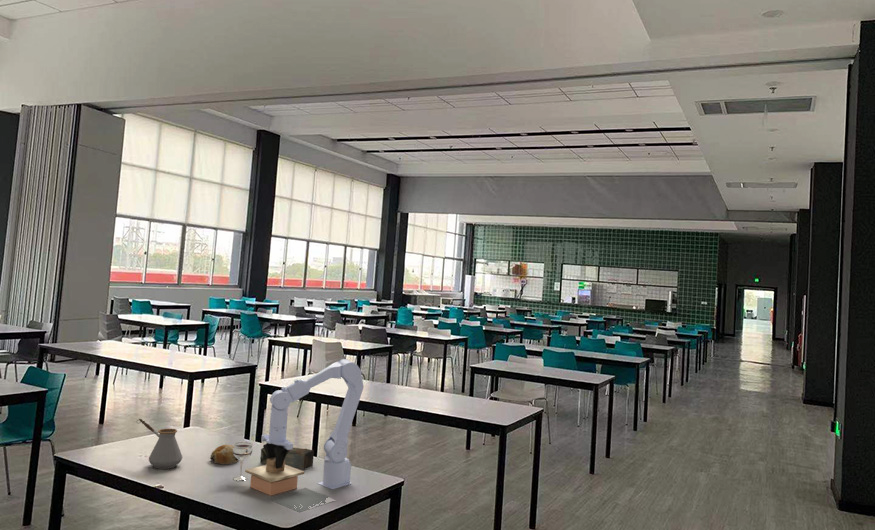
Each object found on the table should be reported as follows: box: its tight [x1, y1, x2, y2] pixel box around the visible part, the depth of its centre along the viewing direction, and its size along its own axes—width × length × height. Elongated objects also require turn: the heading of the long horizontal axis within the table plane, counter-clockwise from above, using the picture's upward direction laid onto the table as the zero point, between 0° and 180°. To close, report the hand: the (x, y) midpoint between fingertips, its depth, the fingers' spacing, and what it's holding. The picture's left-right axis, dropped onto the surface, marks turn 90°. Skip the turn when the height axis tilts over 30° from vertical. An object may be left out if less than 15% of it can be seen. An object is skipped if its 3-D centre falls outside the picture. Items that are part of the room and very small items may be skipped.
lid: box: [244, 457, 305, 482], centre depth 217 cm, size 14×14×5 cm
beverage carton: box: [259, 447, 315, 471], centre depth 245 cm, size 8×19×7 cm, turn 76°
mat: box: [267, 487, 329, 513], centre depth 207 cm, size 16×16×1 cm
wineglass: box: [232, 441, 254, 482], centre depth 225 cm, size 7×7×12 cm
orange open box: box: [249, 474, 299, 497], centre depth 216 cm, size 11×11×4 cm
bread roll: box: [209, 444, 239, 465], centre depth 244 cm, size 10×10×8 cm
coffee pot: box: [136, 418, 183, 470], centre depth 235 cm, size 21×12×15 cm, turn 65°
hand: (275, 466), depth 216 cm, fingers closed on lid, 3 cm apart
